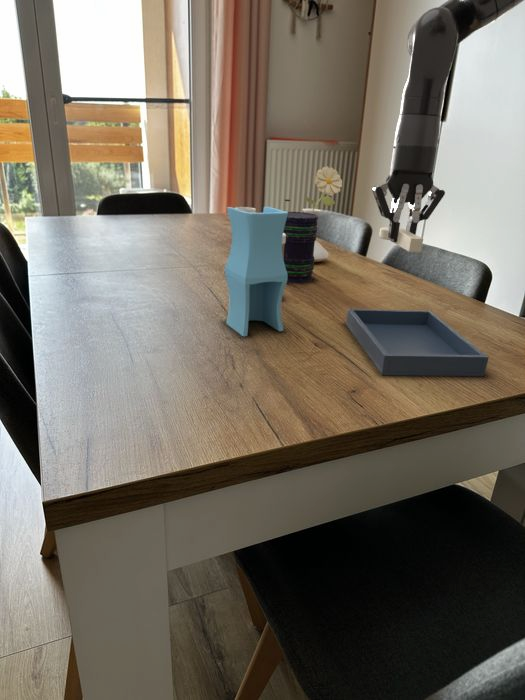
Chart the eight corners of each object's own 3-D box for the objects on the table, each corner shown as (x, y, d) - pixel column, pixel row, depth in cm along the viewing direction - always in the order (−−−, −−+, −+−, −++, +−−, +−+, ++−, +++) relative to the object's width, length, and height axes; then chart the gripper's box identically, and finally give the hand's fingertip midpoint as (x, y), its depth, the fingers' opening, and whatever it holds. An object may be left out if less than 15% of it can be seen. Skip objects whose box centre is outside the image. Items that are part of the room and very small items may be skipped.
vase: (262, 317, 96) (268, 206, 88) (283, 330, 89) (292, 212, 82) (223, 321, 92) (226, 206, 84) (243, 336, 86) (248, 213, 78)
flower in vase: (288, 264, 138) (296, 165, 128) (285, 255, 148) (292, 163, 139) (337, 266, 138) (347, 168, 129) (330, 257, 149) (339, 166, 139)
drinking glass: (229, 238, 167) (230, 207, 164) (245, 237, 172) (246, 206, 168) (242, 242, 163) (244, 210, 159) (258, 240, 167) (260, 209, 163)
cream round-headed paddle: (375, 235, 105) (377, 223, 104) (399, 236, 105) (401, 224, 104) (401, 251, 90) (403, 237, 89) (428, 252, 90) (431, 239, 90)
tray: (427, 326, 96) (430, 310, 94) (484, 376, 76) (488, 357, 75) (346, 324, 94) (347, 308, 93) (381, 375, 74) (384, 355, 73)
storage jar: (319, 278, 125) (327, 201, 118) (300, 285, 118) (306, 204, 111) (285, 270, 130) (290, 197, 123) (263, 278, 123) (268, 200, 116)
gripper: (444, 145, 95) (428, 239, 102) (371, 141, 94) (359, 236, 100) (462, 146, 88) (443, 247, 95) (383, 141, 87) (370, 244, 93)
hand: (400, 241), depth 97 cm, fingers closed on cream round-headed paddle, 2 cm apart
